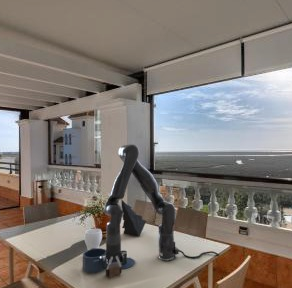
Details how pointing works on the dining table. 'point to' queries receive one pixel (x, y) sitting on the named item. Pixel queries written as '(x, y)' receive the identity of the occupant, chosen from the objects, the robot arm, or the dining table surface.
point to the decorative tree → (131, 221)
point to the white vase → (93, 238)
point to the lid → (128, 263)
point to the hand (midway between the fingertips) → (113, 274)
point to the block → (114, 270)
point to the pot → (93, 260)
